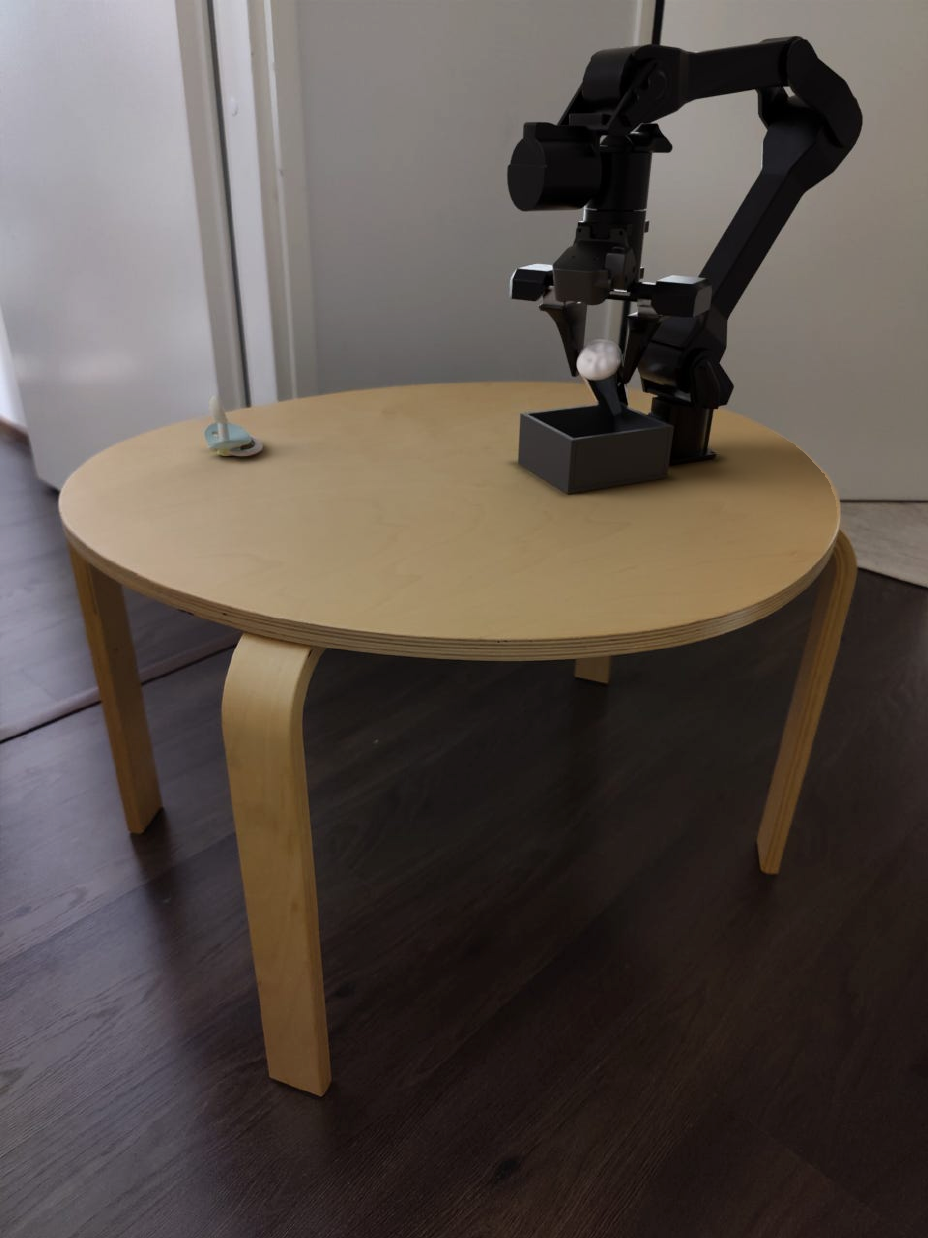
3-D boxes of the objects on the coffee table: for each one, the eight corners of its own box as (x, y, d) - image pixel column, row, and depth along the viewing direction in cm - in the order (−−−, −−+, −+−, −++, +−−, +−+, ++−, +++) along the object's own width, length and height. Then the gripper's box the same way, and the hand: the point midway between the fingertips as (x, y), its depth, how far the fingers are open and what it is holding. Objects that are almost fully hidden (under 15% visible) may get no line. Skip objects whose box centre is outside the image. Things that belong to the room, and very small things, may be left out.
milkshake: (633, 426, 91) (615, 372, 83) (587, 417, 94) (565, 363, 85) (648, 389, 92) (632, 332, 83) (602, 381, 95) (582, 325, 86)
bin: (611, 449, 98) (616, 401, 95) (667, 477, 90) (674, 426, 87) (517, 463, 93) (520, 412, 91) (567, 494, 85) (571, 440, 83)
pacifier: (258, 440, 99) (204, 443, 97) (254, 385, 96) (198, 387, 94) (267, 460, 93) (210, 463, 91) (263, 402, 90) (204, 404, 88)
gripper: (484, 208, 77) (480, 383, 85) (686, 220, 69) (662, 412, 77) (539, 202, 86) (531, 362, 93) (725, 212, 78) (699, 386, 85)
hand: (600, 379), depth 87 cm, fingers closed on milkshake, 5 cm apart
